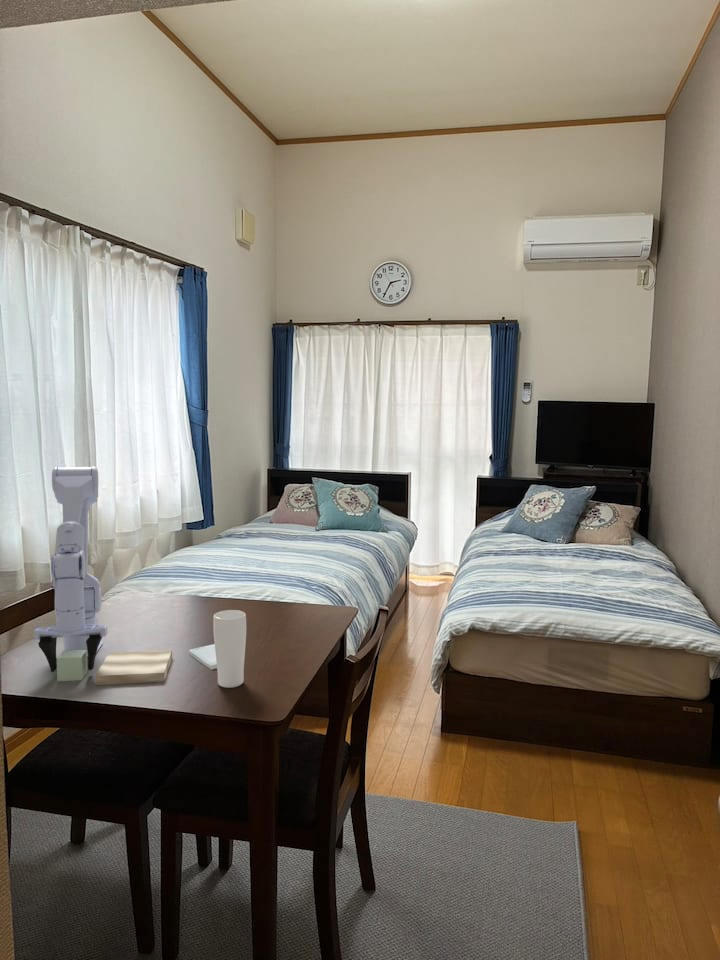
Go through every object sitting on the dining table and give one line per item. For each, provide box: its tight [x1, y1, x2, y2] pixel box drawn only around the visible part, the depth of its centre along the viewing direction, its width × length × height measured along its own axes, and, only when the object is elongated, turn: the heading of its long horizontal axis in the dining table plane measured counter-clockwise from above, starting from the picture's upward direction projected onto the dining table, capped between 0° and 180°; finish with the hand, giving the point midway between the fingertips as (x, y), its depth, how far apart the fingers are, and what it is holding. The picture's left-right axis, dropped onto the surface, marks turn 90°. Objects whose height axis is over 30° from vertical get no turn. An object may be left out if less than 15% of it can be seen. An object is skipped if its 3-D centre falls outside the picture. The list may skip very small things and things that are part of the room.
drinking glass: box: [212, 609, 247, 689], centre depth 146 cm, size 7×7×15 cm
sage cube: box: [56, 650, 89, 682], centre depth 151 cm, size 5×5×5 cm
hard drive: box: [188, 643, 217, 670], centre depth 162 cm, size 2×8×12 cm
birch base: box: [94, 649, 173, 686], centre depth 154 cm, size 14×14×2 cm
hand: (72, 669), depth 151 cm, fingers open, 7 cm apart
